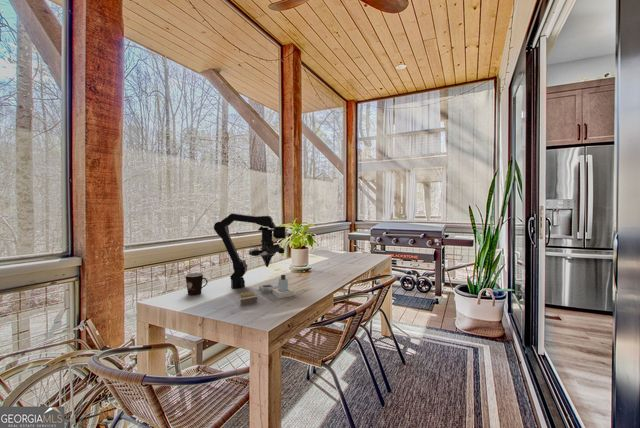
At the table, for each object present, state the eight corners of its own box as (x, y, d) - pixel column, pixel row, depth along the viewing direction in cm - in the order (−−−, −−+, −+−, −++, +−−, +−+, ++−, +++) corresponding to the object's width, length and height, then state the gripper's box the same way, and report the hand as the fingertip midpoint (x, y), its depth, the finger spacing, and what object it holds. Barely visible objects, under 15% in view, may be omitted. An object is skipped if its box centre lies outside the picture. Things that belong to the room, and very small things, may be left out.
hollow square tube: (263, 293, 156) (263, 288, 156) (259, 290, 161) (259, 285, 161) (274, 291, 159) (274, 286, 159) (269, 288, 165) (269, 284, 165)
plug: (281, 296, 152) (281, 276, 151) (278, 294, 155) (278, 274, 154) (287, 295, 154) (287, 275, 153) (284, 293, 156) (284, 274, 156)
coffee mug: (182, 293, 159) (182, 274, 159) (198, 290, 165) (198, 272, 165) (192, 298, 151) (192, 278, 151) (209, 294, 157) (208, 275, 157)
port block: (279, 298, 148) (279, 293, 148) (272, 293, 155) (272, 288, 155) (294, 295, 153) (294, 290, 153) (286, 291, 160) (286, 286, 159)
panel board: (272, 304, 144) (272, 301, 144) (255, 292, 162) (255, 289, 162) (298, 298, 151) (298, 296, 151) (279, 288, 170) (279, 285, 170)
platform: (225, 306, 142) (224, 292, 141) (261, 299, 152) (261, 286, 151) (233, 314, 132) (233, 299, 131) (271, 306, 142) (271, 292, 141)
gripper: (255, 241, 155) (255, 271, 155) (288, 239, 165) (288, 267, 165) (248, 239, 164) (248, 267, 165) (280, 237, 174) (280, 264, 175)
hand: (267, 266), depth 167 cm, fingers closed
